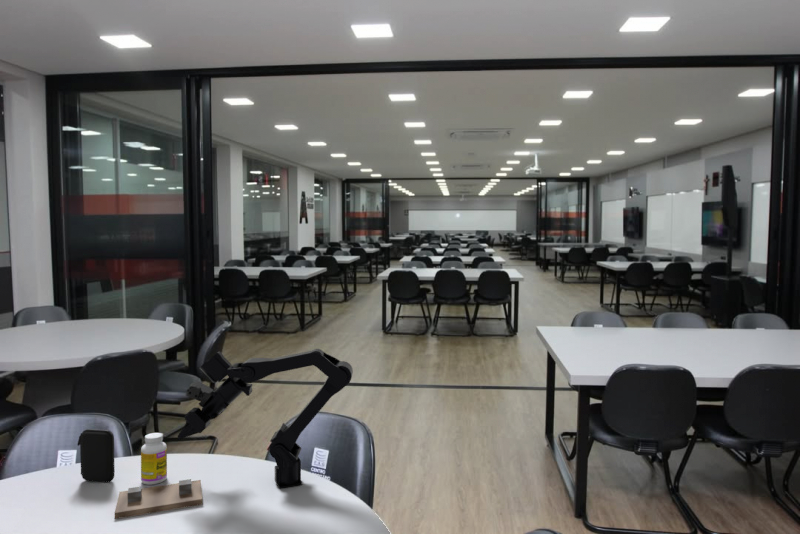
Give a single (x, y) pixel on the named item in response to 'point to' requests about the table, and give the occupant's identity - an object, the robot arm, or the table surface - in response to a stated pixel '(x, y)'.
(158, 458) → the supplement bottle
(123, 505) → the board
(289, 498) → the table surface
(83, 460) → the carrying case or bag
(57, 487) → the table surface
